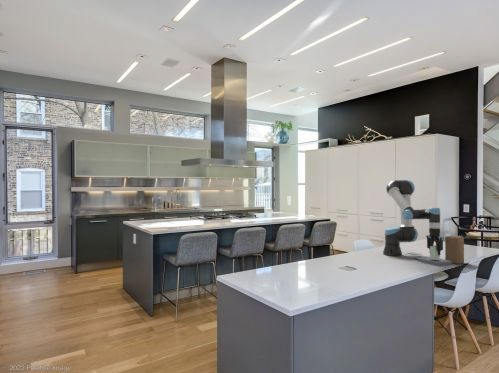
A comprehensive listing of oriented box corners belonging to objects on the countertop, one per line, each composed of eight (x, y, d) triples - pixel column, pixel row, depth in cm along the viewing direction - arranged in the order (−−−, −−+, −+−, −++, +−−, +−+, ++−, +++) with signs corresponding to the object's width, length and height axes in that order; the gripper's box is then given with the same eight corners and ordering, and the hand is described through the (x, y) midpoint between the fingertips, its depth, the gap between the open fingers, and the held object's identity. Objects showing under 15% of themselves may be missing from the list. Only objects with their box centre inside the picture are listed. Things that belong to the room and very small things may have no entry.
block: (444, 262, 263) (444, 236, 264) (450, 260, 269) (450, 235, 270) (459, 264, 255) (458, 237, 256) (464, 262, 262) (464, 236, 262)
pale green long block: (430, 258, 260) (430, 245, 261) (434, 258, 262) (434, 244, 262) (435, 259, 256) (435, 246, 256) (439, 259, 258) (439, 245, 258)
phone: (413, 259, 275) (413, 258, 275) (422, 257, 281) (422, 256, 281) (420, 260, 270) (420, 259, 270) (429, 259, 276) (429, 257, 276)
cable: (419, 256, 285) (419, 255, 285) (419, 256, 285) (419, 255, 285) (434, 259, 275) (434, 258, 275) (435, 259, 276) (435, 257, 276)
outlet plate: (418, 261, 268) (418, 258, 268) (431, 259, 273) (431, 256, 273) (438, 265, 251) (438, 262, 251) (451, 264, 256) (451, 261, 256)
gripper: (421, 227, 266) (421, 257, 266) (441, 229, 250) (441, 261, 250) (428, 226, 269) (428, 256, 269) (448, 228, 253) (449, 260, 252)
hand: (435, 258), depth 259 cm, fingers closed on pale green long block, 4 cm apart
